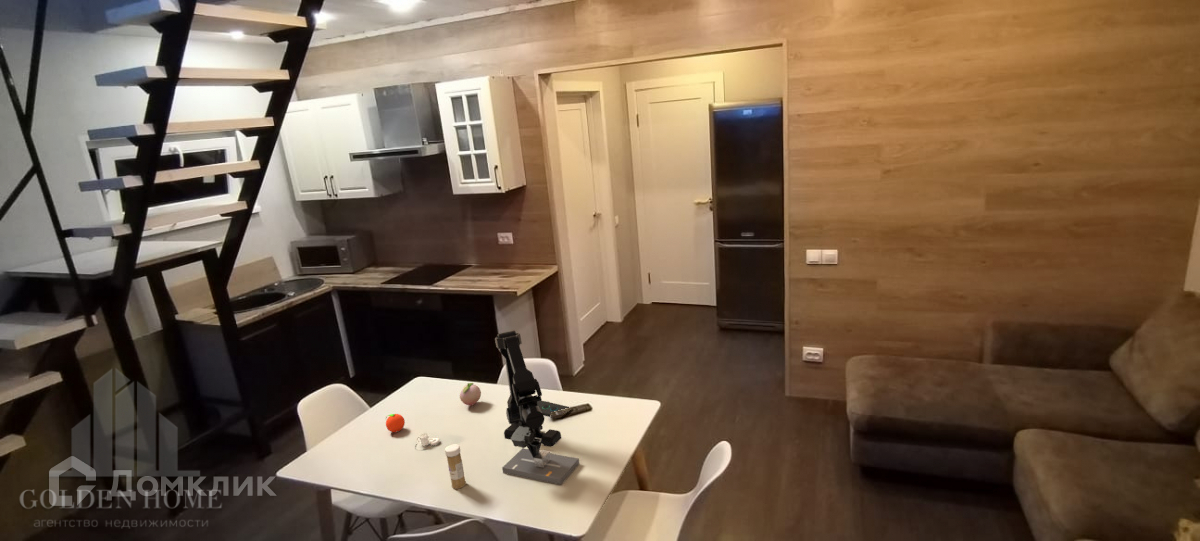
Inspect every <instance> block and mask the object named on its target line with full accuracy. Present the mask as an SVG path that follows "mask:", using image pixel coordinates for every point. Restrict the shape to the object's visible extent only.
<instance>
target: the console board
mask: <svg viewBox="0 0 1200 541" xmlns="http://www.w3.org/2000/svg"><path fill="white" fill-rule="evenodd" d="M541 451H542V450H539V453H540V452H541ZM550 454H551V460H550V461H549V462H548V463H547V464H546V465H545V466H544V467H543V468H542V467H537V466H535V461H534V458H533V456H532V454H531V453H530V451H529V449H528V448H522V447H521V449H520V450H519V451H518V452H517V453H516V454H515V455H514V456H513V457H512V458H511V459H510V460H509V461H508V462H506V463H505V464H504V465H503V466H502V467H501V469H502V473H503V474H507V475H510V476H517V477H521V478H525V479H530V480H534V481H539V482H544V483H549V484H553V485H559V486H563V484H564V482H565V481H566V480H567V479H568V478H569V477H570V475H572V473H573V472H574V471H575V470H576V469H577V467H579V465H580V460H579V458H577V457H572V456H568V455H561V454H556V453H551V452H550Z"/></svg>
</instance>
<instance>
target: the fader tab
mask: <svg viewBox="0 0 1200 541" xmlns="http://www.w3.org/2000/svg"><path fill="white" fill-rule="evenodd" d="M540 451H541V452H540V453H539V454H538V455H537V456H536V457H535V458H534V461H535V466H537V467H542V468H543V467H544V466H545V465H546V464H547V463H548V462H549V461H550V460H551V454H552V453H551V450H546V449H542V450H540ZM550 453H551V454H550Z"/></svg>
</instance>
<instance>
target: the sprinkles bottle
mask: <svg viewBox="0 0 1200 541" xmlns="http://www.w3.org/2000/svg"><path fill="white" fill-rule="evenodd" d="M444 452H445V453H444V454H445V456H446V459H447V464H448V465H447V467H448V471H449V477H450V482H451V487H452V488H453V489H456V490H458V489H462V488H463V487H464V486H466V484H467V482H466V478H465V469H464V465H463V460H462V455H461V447H460V445H459V444H456V443H454V444H450V445H448V446H446V447H445V449H444Z"/></svg>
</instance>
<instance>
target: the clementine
mask: <svg viewBox="0 0 1200 541" xmlns="http://www.w3.org/2000/svg"><path fill="white" fill-rule="evenodd" d="M385 420H386V422H385V426H386V428H387V430H388V431H389V432H391V433H398V432H400V431H401V430H403V429H404V426H405V423H406V422H405V418H404V417H403V415H402V414H399V413H391V414H388V415H387V416H385ZM397 431H398V432H397Z"/></svg>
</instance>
